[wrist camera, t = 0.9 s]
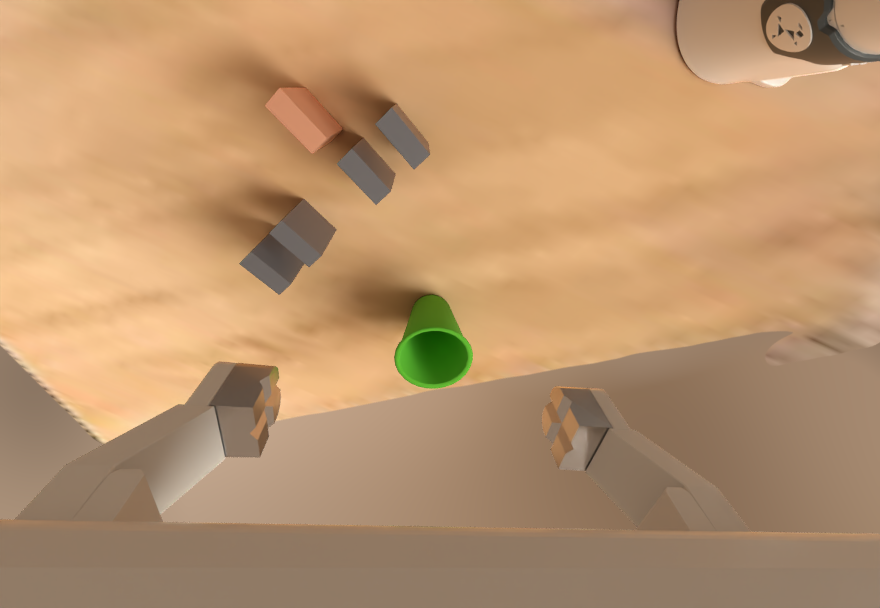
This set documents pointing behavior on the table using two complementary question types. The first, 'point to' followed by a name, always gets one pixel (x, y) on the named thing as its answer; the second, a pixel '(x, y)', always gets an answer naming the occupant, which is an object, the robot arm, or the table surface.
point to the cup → (432, 346)
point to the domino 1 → (304, 117)
